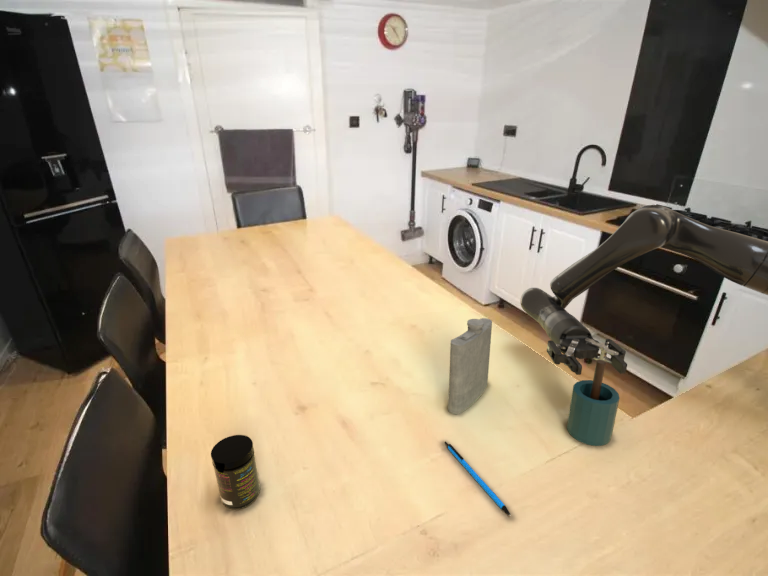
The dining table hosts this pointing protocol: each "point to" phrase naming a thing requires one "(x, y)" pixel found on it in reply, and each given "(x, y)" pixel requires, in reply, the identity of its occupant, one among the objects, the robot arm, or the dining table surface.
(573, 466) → the dining table surface
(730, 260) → the robot arm
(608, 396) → the teal pen holder
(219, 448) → the supplement container
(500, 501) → the pen
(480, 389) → the hip flask
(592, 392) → the brush
